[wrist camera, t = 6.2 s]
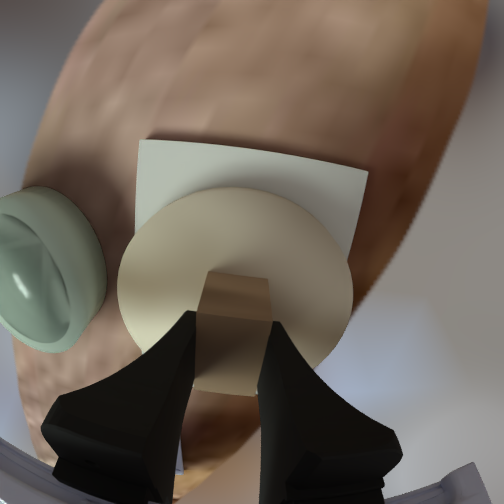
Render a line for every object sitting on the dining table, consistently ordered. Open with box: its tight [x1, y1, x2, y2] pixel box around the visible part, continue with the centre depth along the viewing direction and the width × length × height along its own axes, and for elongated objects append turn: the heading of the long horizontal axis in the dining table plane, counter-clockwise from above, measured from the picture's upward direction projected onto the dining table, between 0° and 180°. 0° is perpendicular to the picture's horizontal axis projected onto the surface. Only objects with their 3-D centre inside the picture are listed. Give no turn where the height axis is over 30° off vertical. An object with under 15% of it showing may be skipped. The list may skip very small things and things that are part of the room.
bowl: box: [0, 186, 107, 353], centre depth 12 cm, size 9×9×3 cm
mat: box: [135, 139, 368, 394], centre depth 14 cm, size 14×10×1 cm
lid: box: [117, 187, 353, 397], centre depth 12 cm, size 11×11×4 cm
